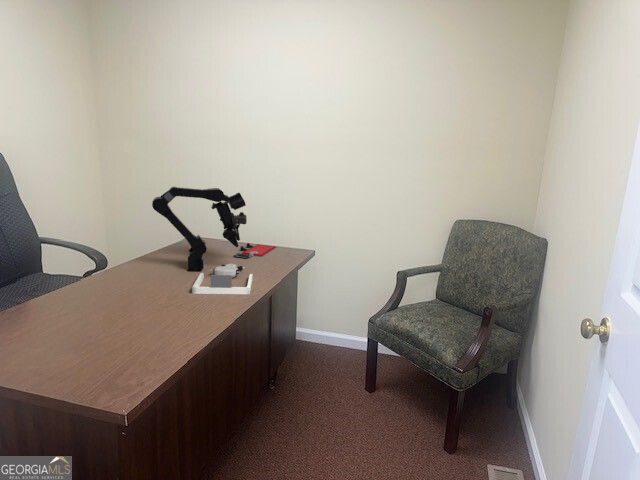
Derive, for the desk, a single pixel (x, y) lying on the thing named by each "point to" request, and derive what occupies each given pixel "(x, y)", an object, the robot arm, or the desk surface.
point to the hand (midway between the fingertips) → (238, 243)
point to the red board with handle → (255, 250)
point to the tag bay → (220, 285)
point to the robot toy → (228, 270)
